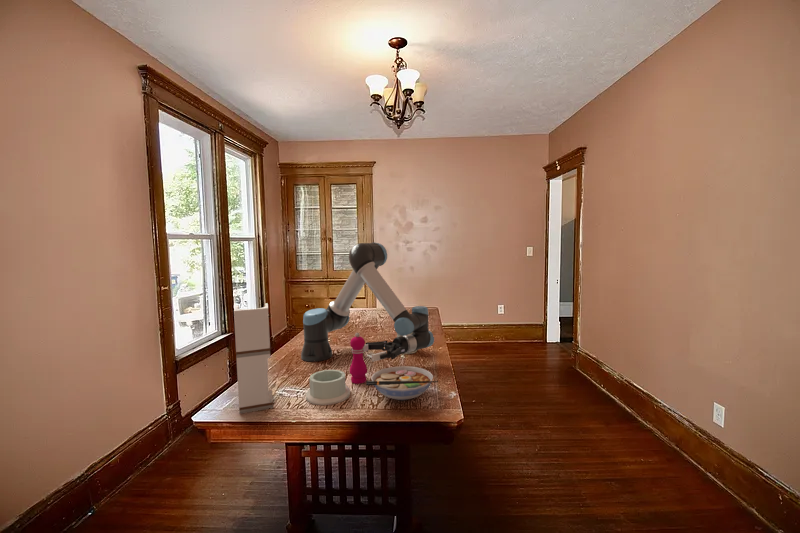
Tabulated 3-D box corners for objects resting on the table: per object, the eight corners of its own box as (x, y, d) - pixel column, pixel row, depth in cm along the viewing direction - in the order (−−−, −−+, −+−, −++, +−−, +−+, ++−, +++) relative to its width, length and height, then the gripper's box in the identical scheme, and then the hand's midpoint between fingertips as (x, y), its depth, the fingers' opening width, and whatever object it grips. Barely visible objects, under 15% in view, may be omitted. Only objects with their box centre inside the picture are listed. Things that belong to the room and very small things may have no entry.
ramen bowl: (433, 383, 145) (433, 363, 144) (440, 409, 122) (439, 386, 122) (371, 384, 145) (370, 364, 144) (365, 411, 122) (365, 387, 122)
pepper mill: (364, 384, 145) (363, 335, 143) (347, 383, 146) (345, 334, 145) (369, 378, 152) (368, 330, 151) (353, 377, 153) (351, 330, 152)
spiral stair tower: (272, 408, 126) (268, 308, 124) (239, 413, 123) (233, 311, 120) (272, 395, 137) (267, 303, 135) (241, 400, 133) (236, 305, 131)
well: (299, 394, 137) (298, 374, 137) (337, 383, 147) (337, 365, 146) (317, 409, 124) (316, 388, 124) (357, 396, 134) (357, 376, 133)
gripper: (422, 359, 152) (380, 371, 139) (388, 346, 172) (348, 355, 159) (422, 341, 152) (380, 352, 139) (387, 330, 172) (347, 339, 159)
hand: (363, 354), depth 149 cm, fingers open, 13 cm apart
